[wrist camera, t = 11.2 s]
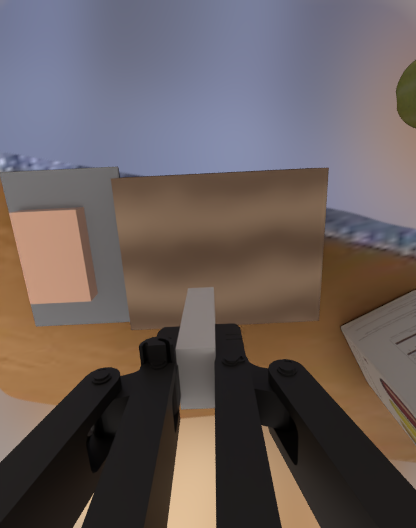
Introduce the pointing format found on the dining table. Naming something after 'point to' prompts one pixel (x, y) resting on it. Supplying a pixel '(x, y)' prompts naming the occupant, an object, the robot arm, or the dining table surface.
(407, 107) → the plant pot
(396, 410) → the supplement box
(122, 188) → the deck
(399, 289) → the dining table surface
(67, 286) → the tile
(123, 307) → the mat
